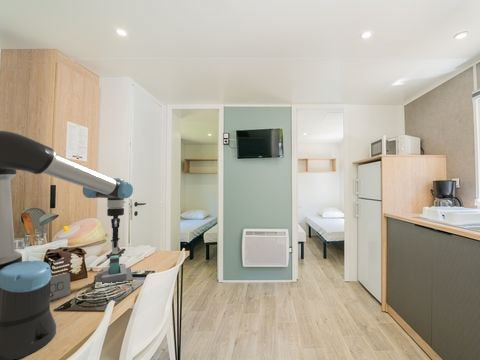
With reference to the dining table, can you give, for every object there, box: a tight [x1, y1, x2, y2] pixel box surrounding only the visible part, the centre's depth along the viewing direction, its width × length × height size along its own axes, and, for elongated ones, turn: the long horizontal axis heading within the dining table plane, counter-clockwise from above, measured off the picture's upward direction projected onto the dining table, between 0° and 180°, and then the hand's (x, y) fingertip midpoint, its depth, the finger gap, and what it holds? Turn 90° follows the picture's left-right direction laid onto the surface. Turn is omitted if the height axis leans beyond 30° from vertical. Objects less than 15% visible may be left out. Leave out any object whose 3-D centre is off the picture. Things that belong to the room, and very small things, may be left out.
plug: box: [109, 255, 120, 275], centre depth 111 cm, size 4×4×10 cm
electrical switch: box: [50, 272, 72, 302], centre depth 93 cm, size 9×5×9 cm, turn 141°
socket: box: [94, 263, 134, 284], centre depth 111 cm, size 18×16×4 cm
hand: (115, 253), depth 111 cm, fingers closed
